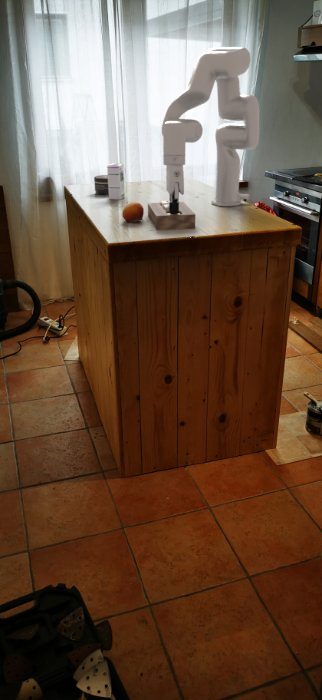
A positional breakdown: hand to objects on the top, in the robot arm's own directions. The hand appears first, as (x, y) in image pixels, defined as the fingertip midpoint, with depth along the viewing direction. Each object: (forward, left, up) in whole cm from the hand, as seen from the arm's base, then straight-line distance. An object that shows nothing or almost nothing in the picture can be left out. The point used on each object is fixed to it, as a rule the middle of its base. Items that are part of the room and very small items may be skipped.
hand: (173, 213), depth 200 cm
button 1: (0, -14, -1) cm, 14 cm away
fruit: (+14, -11, -5) cm, 18 cm away
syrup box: (+16, -55, -5) cm, 57 cm away
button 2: (0, -7, -1) cm, 7 cm away
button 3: (0, 0, -2) cm, 2 cm away
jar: (+20, -67, -5) cm, 70 cm away
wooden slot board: (0, -7, -5) cm, 8 cm away
